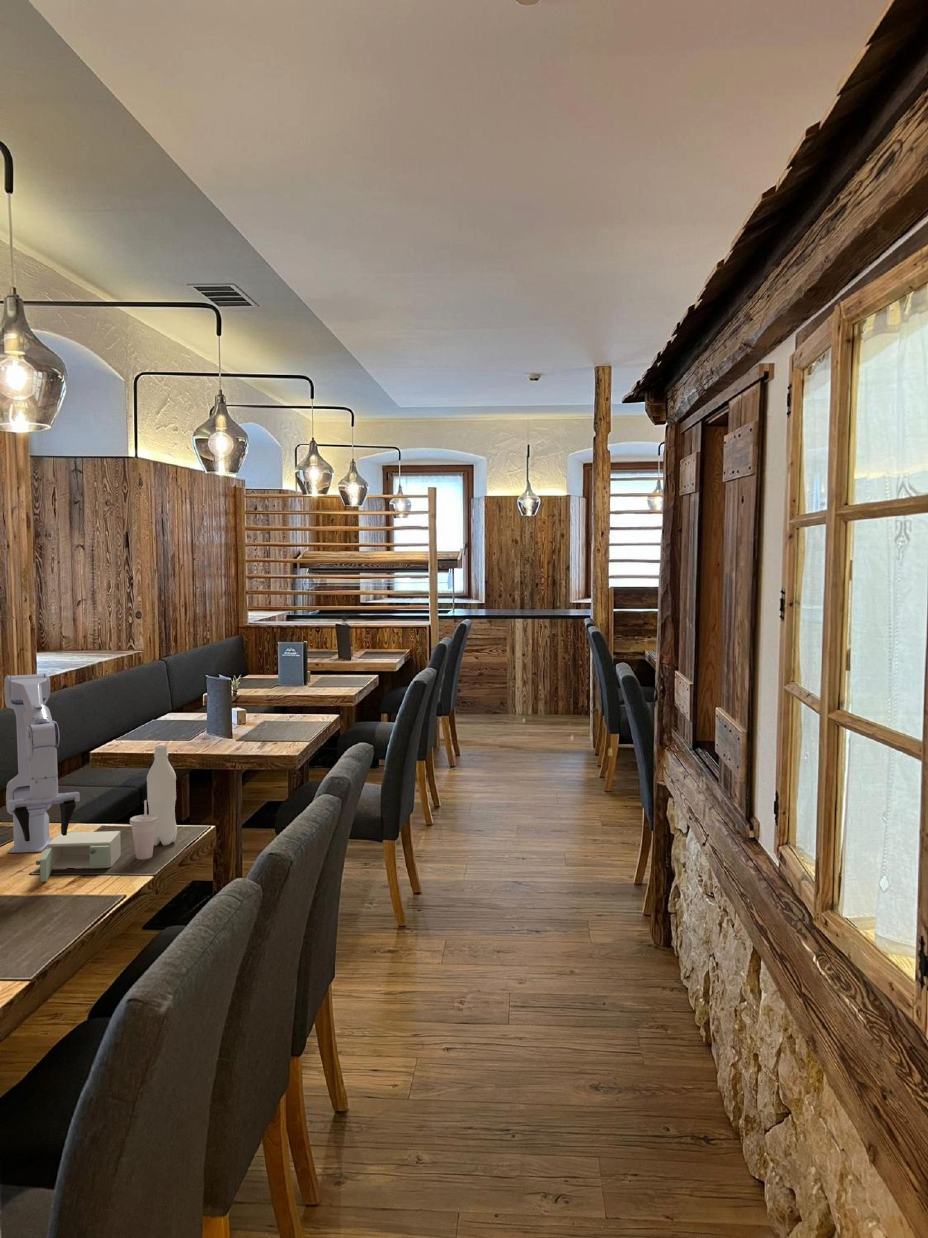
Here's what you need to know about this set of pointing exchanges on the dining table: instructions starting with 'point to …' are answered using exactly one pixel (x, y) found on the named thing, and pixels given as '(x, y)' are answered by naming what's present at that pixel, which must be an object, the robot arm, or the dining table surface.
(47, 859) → the door
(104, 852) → the cabinet
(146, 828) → the smoothie
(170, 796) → the water bottle
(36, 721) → the robot arm
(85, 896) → the dining table surface
